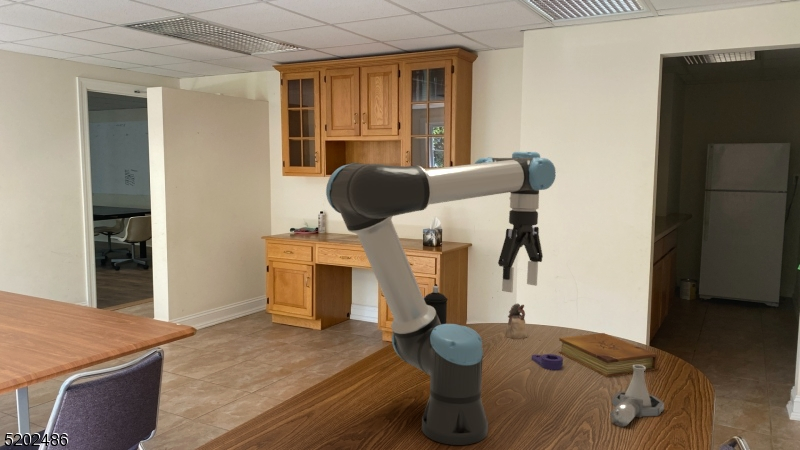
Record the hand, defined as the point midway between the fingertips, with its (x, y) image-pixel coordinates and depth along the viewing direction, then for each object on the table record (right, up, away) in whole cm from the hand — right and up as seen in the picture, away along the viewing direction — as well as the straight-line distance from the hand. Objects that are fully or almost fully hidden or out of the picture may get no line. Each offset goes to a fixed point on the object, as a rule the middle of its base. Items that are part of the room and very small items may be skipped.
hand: (520, 288), depth 156 cm
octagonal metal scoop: (+25, -30, -13) cm, 41 cm away
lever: (+13, -26, +22) cm, 37 cm away
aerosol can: (-21, -24, +40) cm, 51 cm away
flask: (+28, -29, -9) cm, 41 cm away
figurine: (+9, -23, +51) cm, 57 cm away
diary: (+32, -26, +25) cm, 49 cm away
